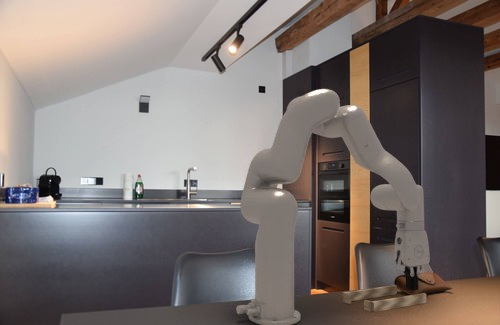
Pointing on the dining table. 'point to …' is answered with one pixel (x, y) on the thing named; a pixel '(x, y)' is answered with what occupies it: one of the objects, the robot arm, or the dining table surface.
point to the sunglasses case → (423, 284)
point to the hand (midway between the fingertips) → (412, 289)
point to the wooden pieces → (382, 304)
